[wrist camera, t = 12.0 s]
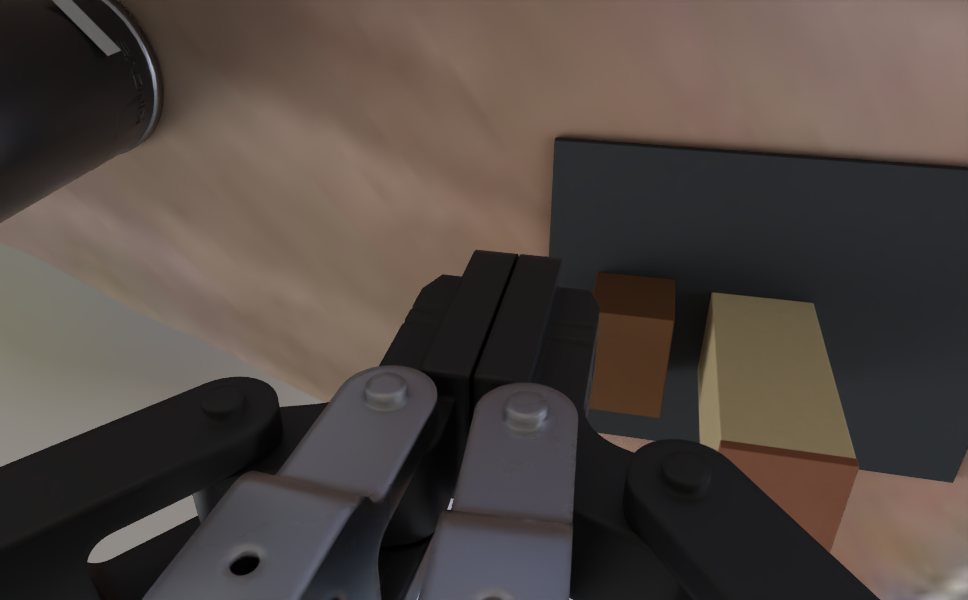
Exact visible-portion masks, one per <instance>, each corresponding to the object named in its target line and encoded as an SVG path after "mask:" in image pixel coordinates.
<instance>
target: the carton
mask: <svg viewBox="0 0 968 600" xmlns="http://www.w3.org/2000/svg"><path fill="white" fill-rule="evenodd" d="M698 396H699V431H700V444H703V445H706V446H708V447H710V448H712V449H715V450H716V451H718V452H720V453H721V454H723V455H724V456H725V457H727V458H728V459H729V460H730V461H731V462H732V463H733V464H735V465H736V466H737V467H738V468H739V469H740V470H741V471H742V472H743V473H744V474H745V475H746V476H747V477H749V478H750V479H751V480H752V481H753V482H754V483H755V484H756V485H757V486H758V487H759V488H760V489H761V490H762V491H764V492H765V493H766V494H767V495H768V496H769V497H770V498H771V499H772V500H773V501H774V502H775V503H776V504H778V505H779V506H780V507H781V508H782V509H783V510H784V511H785V512H786V513H787V514H788V515H789V516H790V517H792V518H793V519H794V520H795V521H796V522H797V523H798V524H799V525H800V526H801V527H802V528H803V529H804V530H806V531H807V532H808V533H809V534H810V535H811V536H812V537H813V538H814V539H815V540H816V541H817V542H818V543H820V544H821V545H822V546H823V547H824V548H825V549H826V550H827V551H828V552H829V553H830V551H831V548H832V545H833V542H834V539H835V536H836V533H837V530H838V527H839V525H840V522H841V519H842V516H843V513H844V510H845V507H846V504H847V501H848V498H849V495H850V493H851V490H852V487H853V484H854V481H855V478H856V475H857V472H858V469H859V465H858V461H857V459H856V457H855V453H854V449H853V446H852V442H851V438H850V435H849V431H848V427H847V424H846V420H845V417H844V413H843V409H842V406H841V402H840V398H839V395H838V391H837V387H836V384H835V380H834V377H833V373H832V369H831V366H830V362H829V358H828V355H827V351H826V347H825V344H824V340H823V336H822V333H821V329H820V326H819V322H818V318H817V315H816V311H815V307H814V304H813V303H808V302H799V301H789V300H780V299H771V298H761V297H752V296H742V295H733V294H723V293H714V292H712V293H711V298H710V304H709V309H708V315H707V320H706V326H705V332H704V337H703V343H702V348H701V354H700V359H699V365H698Z"/></svg>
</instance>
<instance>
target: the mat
mask: <svg viewBox="0 0 968 600" xmlns="http://www.w3.org/2000/svg"><path fill="white" fill-rule="evenodd" d="M549 257H553V258H563V261H564V272H563V287H564V288H573V289H582V290H590V291H591V293H592V295H593V296H594V298H595V300H596V302H597V304H598V305H599V307H600V314H599V325H598V336H597V347H596V358H595V369H594V380H593V387H592V393H591V399H590V406H589V412H588V418H587V421H588V422H589V424H590V425H591V427H592V428H593V429H594V430H595V431H596V432H598V433H605V434H612V435H619V436H626V437H633V438H640V439H647V440H654V441H658V440H665V439H681V440H689V441H693V442H697V443H700V431H699V396H698V365H699V359H700V354H701V348H702V343H703V337H704V332H705V326H706V320H707V315H708V309H709V304H710V298H711V293H712V292H714V293H723V294H733V295H742V296H752V297H761V298H771V299H780V300H789V301H799V302H808V303H813V304H814V307H815V311H816V315H817V318H818V322H819V326H820V329H821V333H822V336H823V340H824V344H825V347H826V351H827V355H828V358H829V362H830V366H831V369H832V373H833V377H834V380H835V384H836V387H837V391H838V395H839V398H840V402H841V406H842V409H843V413H844V417H845V420H846V424H847V427H848V431H849V435H850V438H851V442H852V446H853V449H854V453H855V457H856V459H857V461H858V465H859V469H860V470H867V471H874V472H881V473H888V474H895V475H902V476H909V477H916V478H923V479H930V480H937V481H945V482H952V483H953V481H954V479H955V477H956V474H957V472H958V470H959V467H960V465H961V463H962V460H963V458H964V456H965V454H966V451H967V449H968V167H955V166H941V165H927V164H913V163H899V162H886V161H872V160H858V159H844V158H830V157H816V156H803V155H789V154H775V153H761V152H747V151H733V150H720V149H706V148H692V147H678V146H664V145H651V144H637V143H623V142H609V141H595V140H581V139H568V138H556V139H555V144H554V165H553V186H552V207H551V227H550V248H549Z"/></svg>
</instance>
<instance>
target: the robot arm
mask: <svg viewBox="0 0 968 600" xmlns="http://www.w3.org/2000/svg"><path fill="white" fill-rule="evenodd" d="M162 106H163V82H162V76H161V72H160V68H159V64H158V61H157V58H156V56H155V53H154V51H153V49H152V46H151V45H150V43H149V41H148V39H147V37H146V35H145V34H144V32H143V31H142V29H141V28H140V26H139V25H138V23H137V22H136V21H135V20H134V18H133V17H132V16H131V15H130V14H129V12H128V11H127V10H126V9H125V8H124V7H123V6H122V5H121V4H120V3H118V2H117V1H116V0H0V223H1V222H3V221H5V220H6V219H8V218H10V217H12V216H13V215H15V214H17V213H18V212H20V211H22V210H24V209H25V208H27V207H29V206H30V205H32V204H34V203H36V202H37V201H39V200H41V199H42V198H44V197H46V196H48V195H49V194H51V193H53V192H55V191H56V190H58V189H60V188H61V187H63V186H65V185H67V184H68V183H70V182H72V181H73V180H75V179H77V178H79V177H80V176H82V175H84V174H85V173H87V172H89V171H91V170H93V169H95V168H96V167H98V166H100V165H101V164H103V163H105V162H107V161H108V160H110V159H112V158H113V157H115V156H117V155H119V154H122V153H125V152H127V151H129V150H131V149H133V148H134V147H136V146H138V145H139V144H141V143H142V142H143V141H145V140H146V139H147V138H148V137H149V136H150V134H151V133H152V132H153V130H154V129H155V127H156V125H157V123H158V121H159V118H160V115H161V111H162ZM563 272H564V261H563V258H553V257H543V256H533V255H524V254H521V255H520V256H518V254H512V253H502V252H492V251H483V250H475V251H474V253H473V255H472V257H471V259H470V261H469V263H468V265H467V267H466V270H465V272H464V274H463V276H462V277H460V276H451V275H441V276H440V277H438V278H437V279H435V280H434V281H433V282H431V283H430V284H428V285H427V286H425V287H424V288H422V290H421V292H420V294H419V295H418V297H417V299H416V301H415V303H414V304H413V309H411V310H410V312H409V313H408V315H407V317H406V319H405V323H403V324H402V326H401V328H400V329H399V331H398V333H397V335H396V337H395V338H394V340H393V342H392V344H391V345H390V347H389V349H388V351H387V353H386V354H385V356H384V358H383V360H382V361H381V363H380V365H379V366H378V367H373V368H370V369H366V370H364V371H361V372H359V373H357V374H355V375H354V376H352V377H350V378H349V379H348V380H347V381H345V382H344V384H343V385H342V386H341V387H340V388H339V390H338V391H337V392H336V394H335V395H334V397H333V398H332V399H331V401H330V402H327V403H320V404H311V405H300V406H288V407H279V402H278V397H277V394H276V392H275V390H274V389H273V388H272V387H271V386H270V385H269V384H267V383H265V382H264V381H261V380H258V379H255V378H250V377H229V378H222V379H218V380H214V381H211V382H208V383H205V384H203V385H201V386H198V387H195V388H193V389H190V390H188V391H186V392H183V393H181V394H178V395H176V396H173V397H171V398H168V399H166V400H164V401H161V402H159V403H156V404H154V405H151V406H149V407H146V408H144V409H142V410H139V411H137V412H134V413H132V414H129V415H127V416H124V417H122V418H119V419H117V420H115V421H112V422H110V423H107V424H105V425H102V426H100V427H97V428H95V429H92V430H90V431H87V432H85V433H83V434H80V435H78V436H76V437H73V438H70V439H68V440H65V441H63V442H60V443H58V444H56V445H53V446H51V447H48V448H46V449H43V450H41V451H39V452H36V453H34V454H31V455H29V456H26V457H24V458H21V459H19V460H17V461H14V462H11V463H9V464H7V465H4V466H2V467H0V600H416V599H417V597H418V595H419V598H418V600H569V598H571V599H573V600H880V599H879V598H878V597H877V596H875V595H874V594H873V593H872V592H871V591H870V590H869V589H868V588H867V587H866V586H865V585H864V584H863V583H861V582H860V581H859V580H858V579H857V578H856V577H855V576H854V575H853V574H852V573H851V572H850V571H849V570H847V569H846V568H845V567H844V566H843V565H842V564H841V563H840V562H839V561H838V560H837V559H836V558H835V557H834V556H832V555H831V554H830V553H829V552H828V551H827V550H826V549H825V548H824V547H823V546H822V545H821V544H820V543H818V542H817V541H816V540H815V539H814V538H813V537H812V536H811V535H810V534H809V533H808V532H807V531H806V530H804V529H803V528H802V527H801V526H800V525H799V524H798V523H797V522H796V521H795V520H794V519H793V518H792V517H790V516H789V515H788V514H787V513H786V512H785V511H784V510H783V509H782V508H781V507H780V506H779V505H778V504H776V503H775V502H774V501H773V500H772V499H771V498H770V497H769V496H768V495H767V494H766V493H765V492H764V491H762V490H761V489H760V488H759V487H758V486H757V485H756V484H755V483H754V482H753V481H752V480H751V479H750V478H749V477H747V476H746V475H745V474H744V473H743V472H742V471H741V470H740V469H739V468H738V467H737V466H736V465H735V464H733V463H732V462H731V461H730V460H729V459H728V458H727V457H725V456H724V455H723V454H721V453H720V452H718V451H716V450H715V449H712V448H710V447H708V446H706V445H703V444H700V443H697V442H693V441H689V440H681V439H665V440H658V441H655V442H651V443H649V444H646V445H644V446H642V447H641V448H640V449H638V450H637V451H636V452H635V453H633V452H631V451H628V450H625V449H623V448H621V447H618V446H616V445H614V444H612V443H610V442H609V441H607V440H605V439H604V438H603V437H601V436H600V435H599V434H598V433H597V432H596V431H595V430H594V429H593V428H592V427H591V425H590V424H589V422H588V421H587V418H588V412H589V406H590V399H591V393H592V387H593V380H594V369H595V358H596V347H597V336H598V325H599V314H600V307H599V305H598V304H597V302H596V300H595V298H594V296H593V295H592V293H591V291H590V290H582V289H573V288H564V287H563ZM190 495H193V498H194V502H195V506H196V509H197V513H198V516H196V517H194V518H192V519H190V520H188V521H186V522H184V523H182V524H180V525H178V526H176V527H174V528H172V529H170V530H168V531H166V532H164V533H162V534H160V535H158V536H156V537H154V538H152V539H150V540H148V541H146V542H145V543H142V544H140V545H138V546H136V547H134V548H132V549H130V550H128V551H126V552H124V553H122V554H120V555H118V556H116V557H114V558H113V559H110V560H108V561H105V562H101V563H88V562H87V560H88V556H89V554H90V552H91V551H92V549H93V548H94V547H95V545H96V544H97V543H98V542H99V541H101V540H102V539H103V538H105V537H106V536H108V535H109V534H111V533H113V532H115V531H117V530H119V529H121V528H124V527H126V526H127V525H130V524H132V523H134V522H136V521H138V520H140V519H142V518H144V517H146V516H148V515H150V514H152V513H155V512H156V511H158V510H161V509H163V508H165V507H167V506H169V505H171V504H173V503H175V502H177V501H179V500H181V499H184V498H186V497H188V496H190ZM451 498H452V499H454V500H453V504H452V508H451V510H447V508H448V505H449V503H450V499H451ZM419 593H420V594H419Z"/></svg>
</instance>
